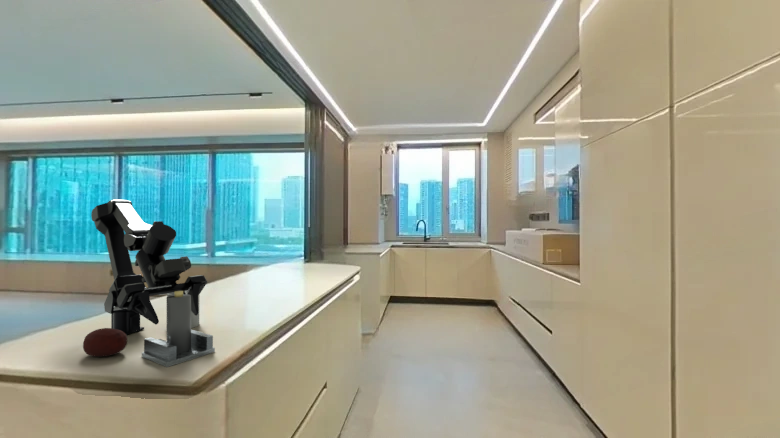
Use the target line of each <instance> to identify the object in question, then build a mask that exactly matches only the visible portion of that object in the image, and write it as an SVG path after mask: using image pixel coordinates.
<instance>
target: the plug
mask: <svg viewBox="0 0 780 438" xmlns="http://www.w3.org/2000/svg"><path fill="white" fill-rule="evenodd" d="M191 330H192V328H191V295H188V294H183V291H175V295H173V296H168V297H167V296H166V340H165V339H162V338H159V339H158V338H157V339H158V340H161V341H164V342H167V343H170V344H173V345H175V346H176V353H182V352H186V351H188V350H190V349H191Z"/></svg>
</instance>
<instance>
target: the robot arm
mask: <svg viewBox="0 0 780 438" xmlns="http://www.w3.org/2000/svg"><path fill="white" fill-rule="evenodd" d="M90 214H91V216H90V217H91V221H92V222H94V225H95V229H96V231H98V232H100V234H102V235H103V236H104V238H105V242H106V248H107V252H108V257H109V261H110V266H111V267H110V268H111V270H112V271H111V272H112V275H113V281H112V283H111V285H110V287H109V289H108V294H107V296H106V298H105V300H104V305H103V306H104V307H103V308H104V312H106V313H107V314H110V315H111V321H110V323H111V325H110V328H112V329H117V330H121V331H123V332H124V333H125V334H126V335H127V336H128V335H130V334H133V333H136V332H139V331H142V330H144V329H145V326H144V327H143V326H141V316H142V317H143V318H145V319H146V320H148V321H149V322H151V323H153V325H158V324H159V323H160V321H159V317H158V315H157V313H156V310H155V309H154V306H153V305H152V303H151V299H150V297H153V296H161V295H167V294H170V293H175V291H183V294H188V295H191V311H192V312H193V313H194V315H195V316H196V315H198V313H199V314H200V306H199V307H198V295H199V296H200V294H201V293H202V291H203V290H204V288H205V286H206V285H207V283H208V280H207V278H206V276H205V275H203V274H198V275H191V276H187V278H186V279H185V281H184V282H181V283H177V282H178V281H179V280H180V279H181V276H180V275H181V274H182V273H185V272H186V271H189V270H190V269H191V268H192V262H191V260H190V258H189V256H188V255H187V256H180V258H171V259H170V258H169V259H166V258H165V256H164V255H166V254H168V253H169V251H170V249H171V247H172V246H173V245H172V244H173V243H174V241H175V239H176V237H177V232H176V229H174V228H173V227H171V226H169V225H167V224H164V222H163V220H162V221H161V220H160V221H159V220H158V221H153V223H152V224H150V223H146V222H144V220H143V219H142V217H141V216H140V215H139V214H138V212H137V211H136V210H135V209H134V206H133V203H132V200H127V199H112V200H108V202H106V203H102V204H99V205H96V206H95V207H94V208H93V209H92V211H91V213H90ZM129 251H130V252H136V251H137V253H136V254H135V257H134V259H135V261H134V265H135V267H138V268H139V269H140V271H141V274H136V273H135V271H134V269H133V268H134V267H133V263H132V260H131V255H130V252H129ZM145 283H146V284H145ZM146 285H147V287H146Z"/></svg>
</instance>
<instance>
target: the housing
mask: <svg viewBox="0 0 780 438" xmlns="http://www.w3.org/2000/svg"><path fill="white" fill-rule="evenodd" d="M213 340H214V335H212V334H208V333H206V332H202V331H198V330H195V329H191V349H190V350H188V351H186V352H182V353H176V346H175V345H173V344H170V343H167V342H164V341H161V340H158V338H155V337H152V336H151V337H146V338H143V341H144V342H143V346H144V347H143V351H142V352H141V358H143V359H146V360H148V361H151V362H152V363H153V362H154V363H155V364H158V365H160V366H163V367H164V368H165V367H166V368H169V367H172V366H174V365H175V366H176V365H178V364H181V363H184V362H187V361H191V360H193V359H196V358H200V357H203V356H205V355H206V356H207V355H210V354H213V353H215V352H216V348H215V346H213V345H214V343H213V342H214V341H213ZM212 352H213V353H212Z"/></svg>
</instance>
